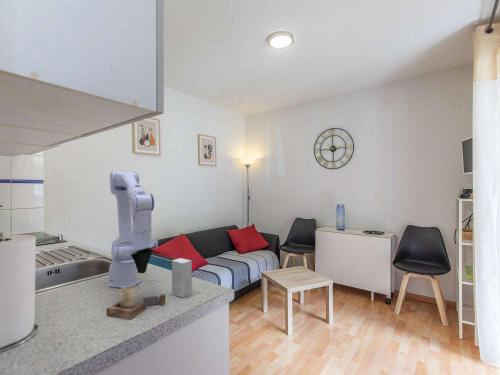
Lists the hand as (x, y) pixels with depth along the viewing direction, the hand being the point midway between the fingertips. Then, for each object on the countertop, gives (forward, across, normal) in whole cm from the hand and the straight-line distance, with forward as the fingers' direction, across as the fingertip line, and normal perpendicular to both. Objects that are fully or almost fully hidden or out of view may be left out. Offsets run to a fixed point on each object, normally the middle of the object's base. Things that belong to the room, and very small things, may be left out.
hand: (141, 272), depth 86 cm
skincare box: (+10, +10, -9) cm, 17 cm away
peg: (+10, -6, 0) cm, 12 cm away
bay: (+10, -6, 0) cm, 11 cm away
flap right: (+10, -1, -4) cm, 11 cm away
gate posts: (+10, +1, 0) cm, 10 cm away
